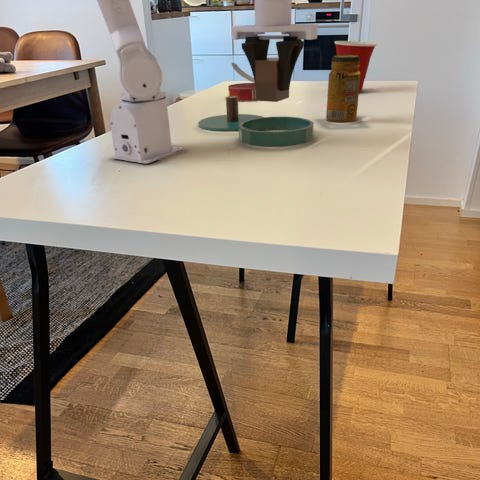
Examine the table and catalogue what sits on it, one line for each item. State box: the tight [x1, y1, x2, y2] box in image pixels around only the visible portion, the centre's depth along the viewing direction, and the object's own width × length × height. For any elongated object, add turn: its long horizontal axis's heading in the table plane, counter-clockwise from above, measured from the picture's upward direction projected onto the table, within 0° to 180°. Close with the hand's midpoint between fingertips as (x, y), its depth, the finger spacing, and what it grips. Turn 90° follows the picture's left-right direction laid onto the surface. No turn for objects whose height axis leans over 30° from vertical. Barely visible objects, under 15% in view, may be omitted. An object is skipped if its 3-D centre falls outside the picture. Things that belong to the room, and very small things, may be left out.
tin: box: [238, 116, 315, 148], centre depth 86 cm, size 13×13×3 cm
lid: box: [197, 95, 263, 132], centre depth 97 cm, size 14×14×6 cm
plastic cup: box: [334, 40, 378, 94], centre depth 126 cm, size 11×11×12 cm
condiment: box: [325, 54, 360, 124], centre depth 94 cm, size 7×8×12 cm
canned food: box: [227, 62, 256, 102], centre depth 126 cm, size 11×10×10 cm
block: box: [255, 57, 290, 103], centre depth 80 cm, size 4×4×6 cm
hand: (272, 89), depth 80 cm, fingers closed on block, 4 cm apart
